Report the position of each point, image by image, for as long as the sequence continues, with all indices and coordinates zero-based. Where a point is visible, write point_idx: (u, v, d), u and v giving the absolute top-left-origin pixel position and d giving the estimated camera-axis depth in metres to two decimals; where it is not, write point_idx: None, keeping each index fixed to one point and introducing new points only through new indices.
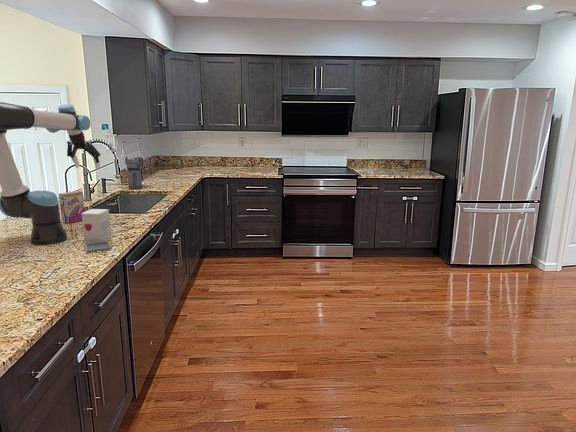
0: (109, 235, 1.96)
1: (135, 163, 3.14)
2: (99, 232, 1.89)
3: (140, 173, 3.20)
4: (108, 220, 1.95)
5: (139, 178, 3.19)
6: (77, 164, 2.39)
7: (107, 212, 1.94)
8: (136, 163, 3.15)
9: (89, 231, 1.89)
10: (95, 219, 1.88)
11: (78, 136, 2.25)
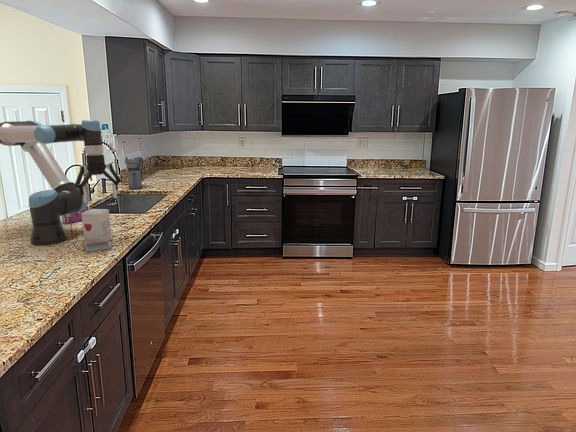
0: (109, 235, 1.96)
1: (135, 163, 3.14)
2: (99, 232, 1.89)
3: (140, 173, 3.20)
4: (108, 220, 1.95)
5: (139, 178, 3.19)
6: (113, 194, 1.97)
7: (107, 212, 1.94)
8: (136, 163, 3.15)
9: (89, 231, 1.89)
10: (95, 219, 1.88)
11: None
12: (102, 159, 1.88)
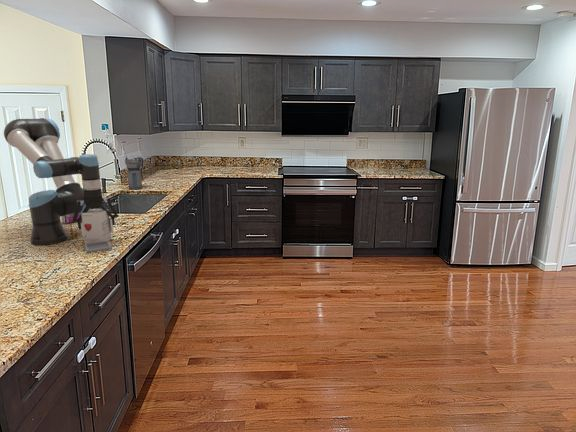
0: (109, 235, 1.96)
1: (135, 163, 3.14)
2: (99, 232, 1.89)
3: (140, 173, 3.20)
4: (108, 220, 1.95)
5: (139, 178, 3.19)
6: None
7: None
8: (136, 163, 3.15)
9: (88, 231, 1.89)
10: (95, 219, 1.88)
11: None
12: (98, 194, 1.88)
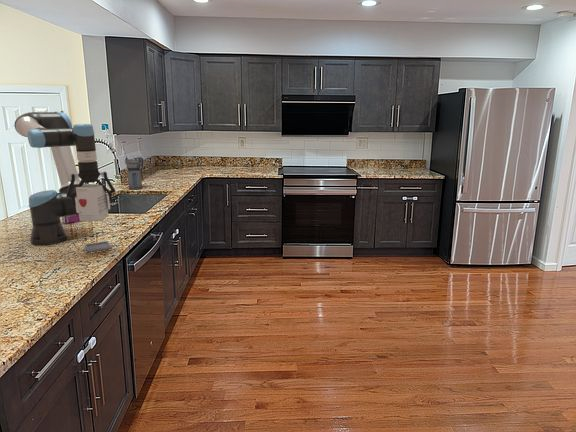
0: (105, 212, 1.83)
1: (135, 163, 3.14)
2: (95, 208, 1.76)
3: (140, 173, 3.20)
4: (105, 195, 1.82)
5: (139, 178, 3.19)
6: (107, 204, 1.83)
7: None
8: (136, 163, 3.15)
9: (84, 206, 1.76)
10: (90, 193, 1.74)
11: None
12: (94, 166, 1.74)
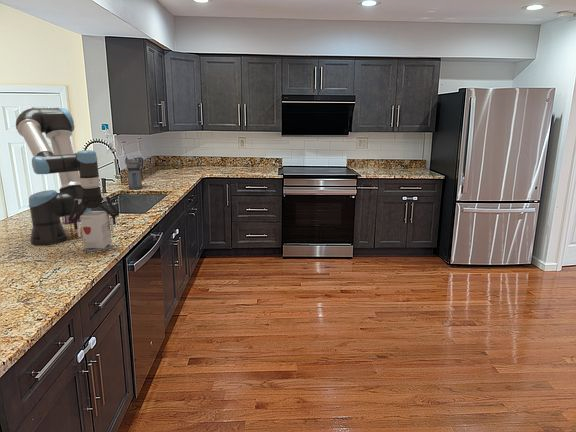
0: (109, 238, 1.86)
1: (135, 163, 3.14)
2: (99, 236, 1.79)
3: (140, 173, 3.20)
4: (108, 222, 1.85)
5: (139, 178, 3.19)
6: (111, 227, 1.86)
7: (107, 214, 1.84)
8: (136, 163, 3.15)
9: (88, 234, 1.79)
10: (94, 221, 1.78)
11: None
12: (97, 192, 1.77)
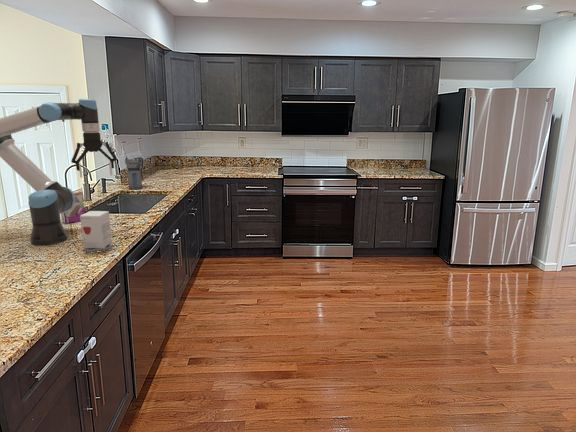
0: (109, 238, 1.86)
1: (135, 163, 3.14)
2: (99, 236, 1.79)
3: (140, 173, 3.20)
4: (108, 222, 1.85)
5: (139, 178, 3.19)
6: (110, 171, 2.06)
7: (107, 214, 1.84)
8: (136, 163, 3.15)
9: (88, 234, 1.79)
10: (94, 221, 1.78)
11: None
12: (97, 137, 1.97)
